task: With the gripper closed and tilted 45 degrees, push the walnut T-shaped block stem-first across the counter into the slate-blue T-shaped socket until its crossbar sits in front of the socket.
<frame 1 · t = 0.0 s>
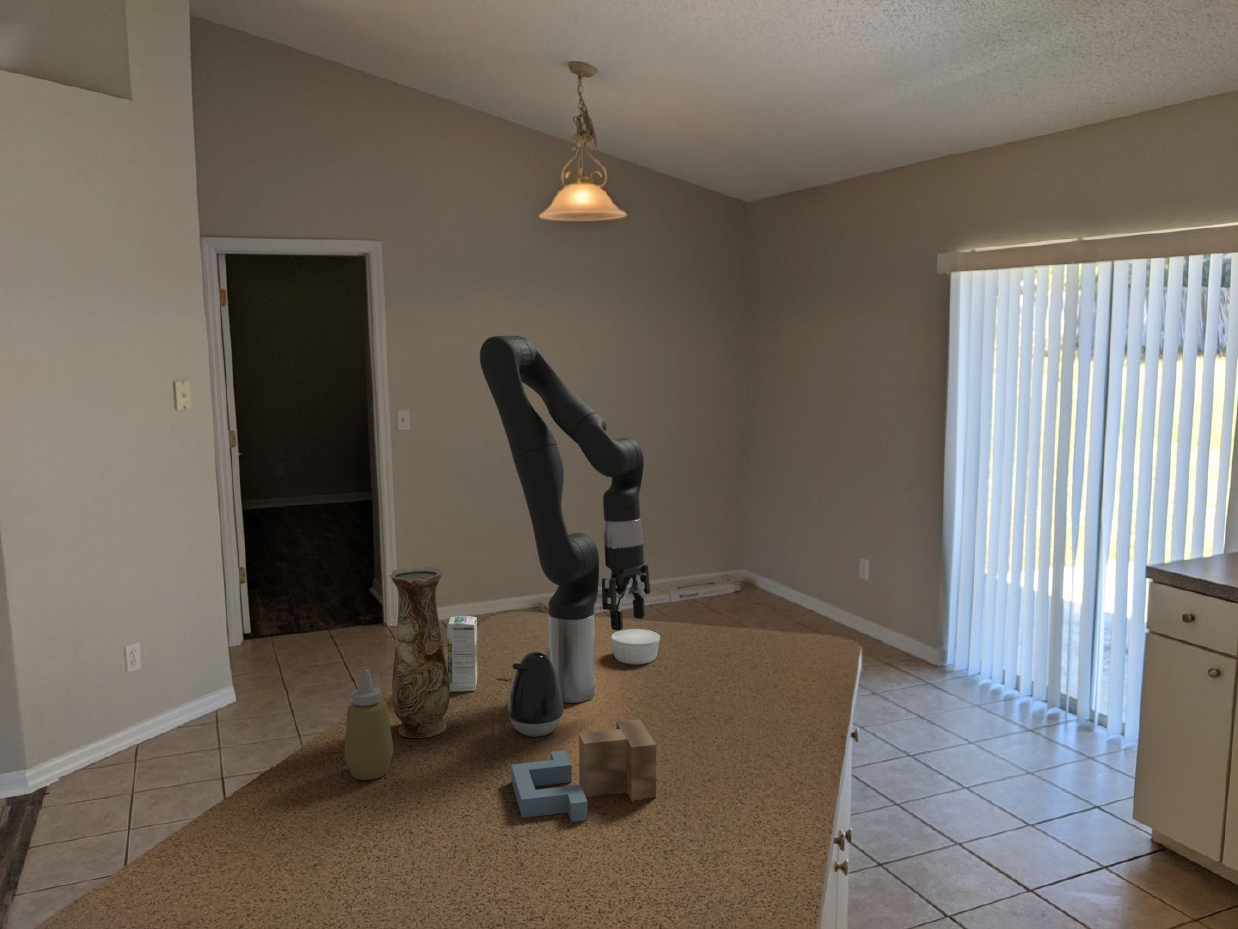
hand: (628, 623, 181), 17 cm above the countertop, tool pointing down, fingers open, 8 cm apart
syrup box: (463, 687, 195), on the countertop
t socket: (577, 792, 150), on the countertop
vase: (421, 729, 174), on the countertop
squeeze bottle: (369, 774, 156), on the countertop
roly-poly penguin toy: (535, 732, 173), on the countertop
t block: (622, 786, 152), on the countertop
ramekin: (635, 659, 212), on the countertop
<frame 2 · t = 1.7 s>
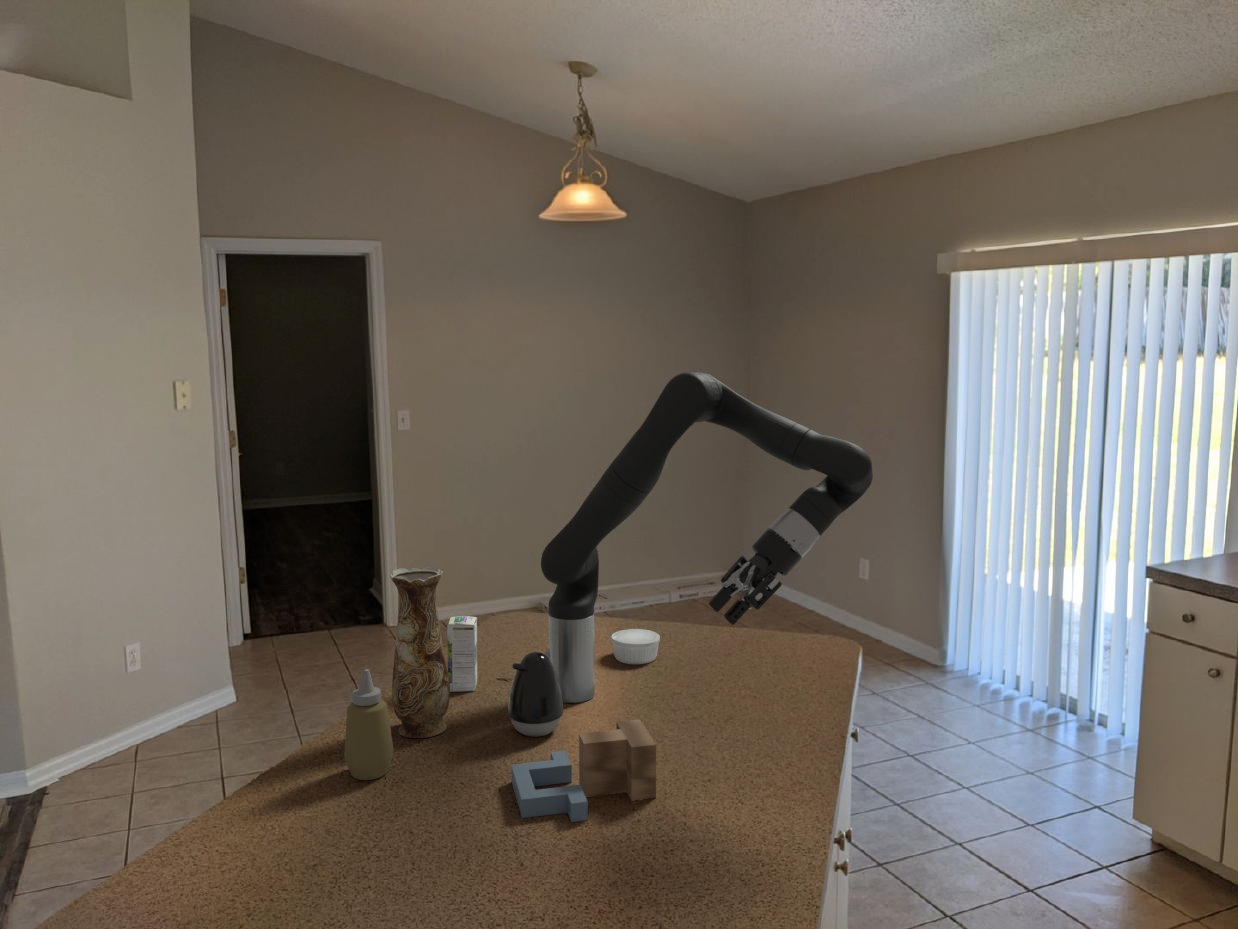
hand: (720, 614, 156), 27 cm above the countertop, tool tilted 45°, fingers open, 7 cm apart
nothing on the countertop moved.
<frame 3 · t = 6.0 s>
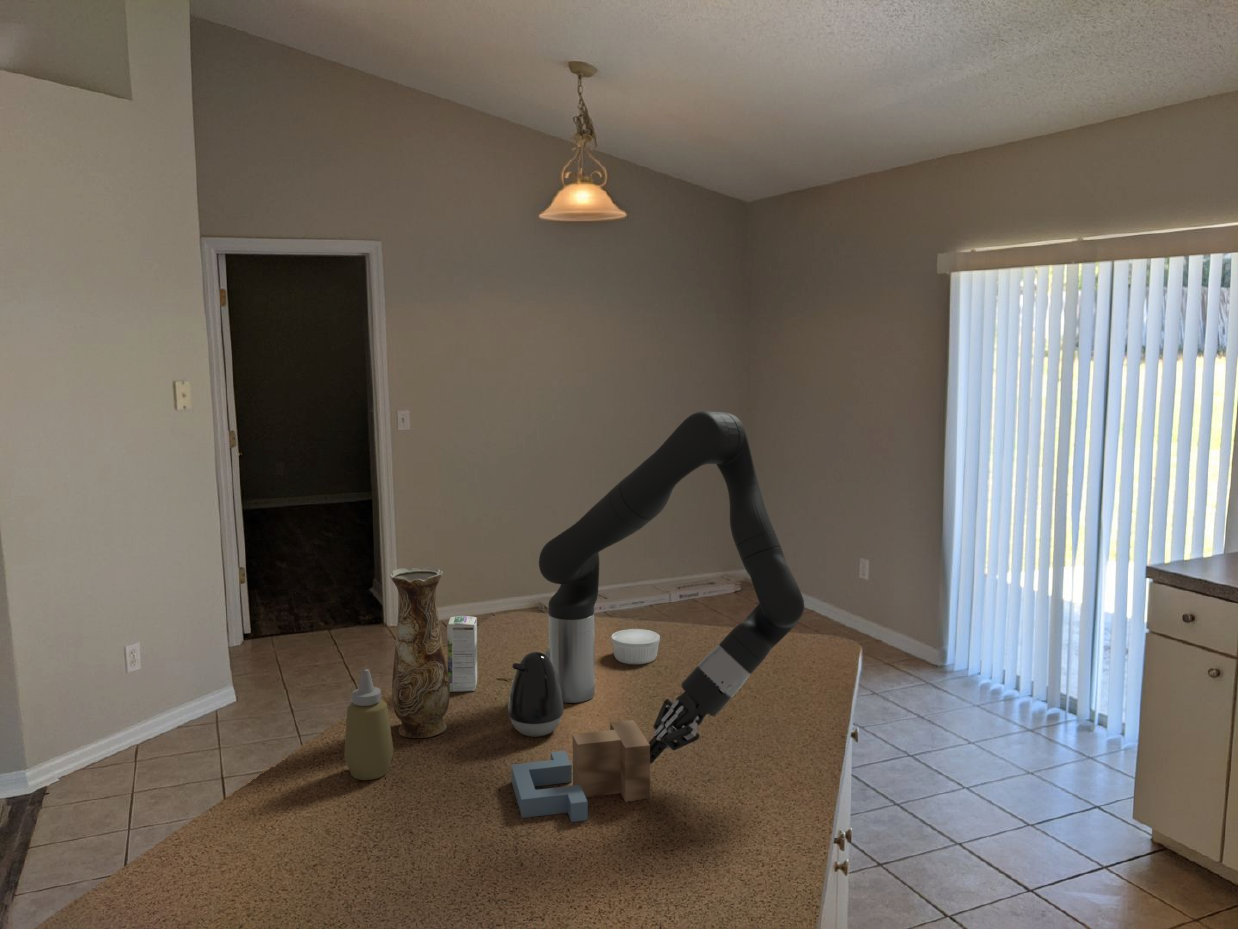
hand: (644, 759, 152), 4 cm above the countertop, tool tilted 45°, fingers closed
t block: (616, 787, 151), on the countertop
everything else where it was.
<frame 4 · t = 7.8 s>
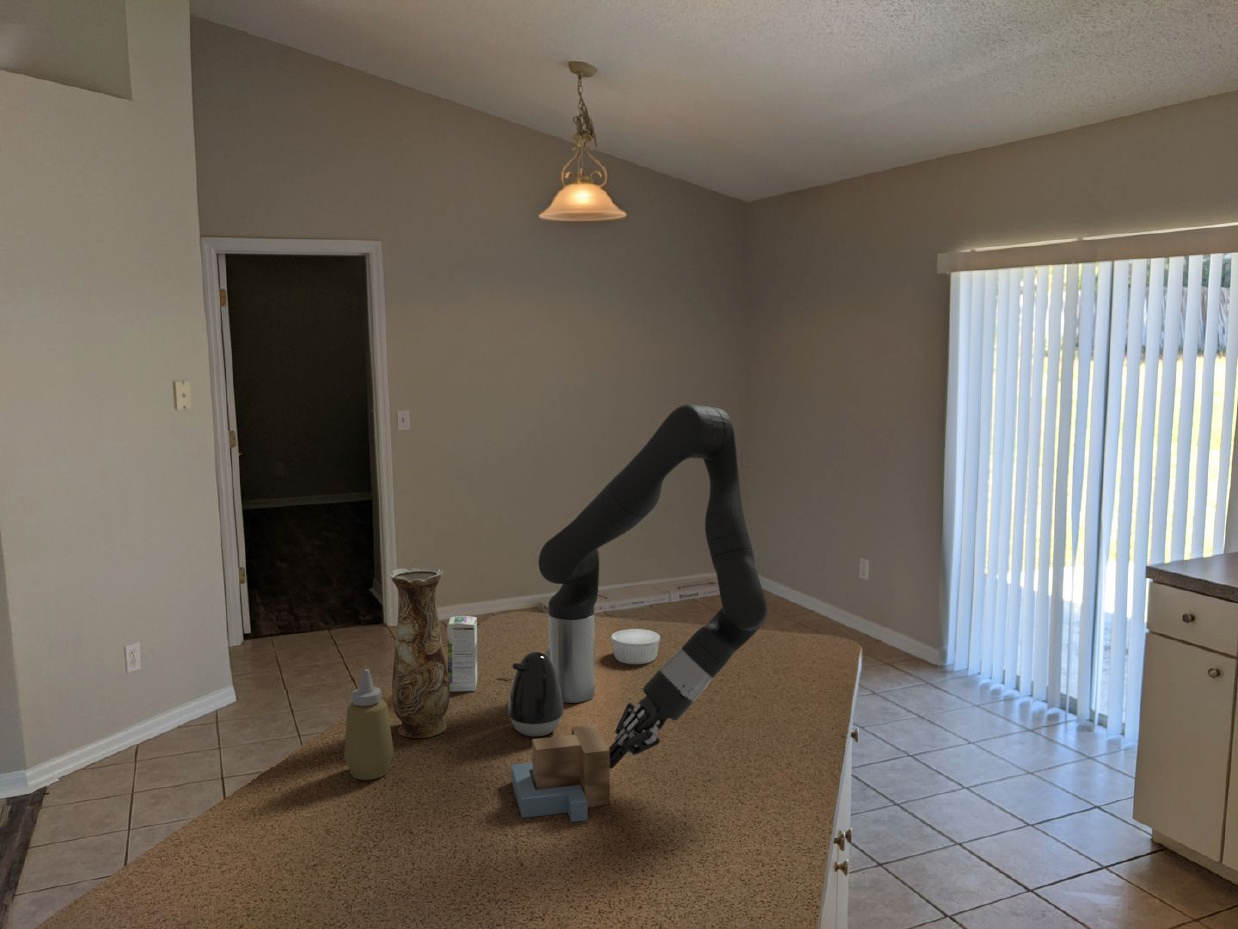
hand: (605, 764, 150), 4 cm above the countertop, tool tilted 45°, fingers closed
t block: (576, 793, 149), on the countertop, touching gripper
everything else where it was.
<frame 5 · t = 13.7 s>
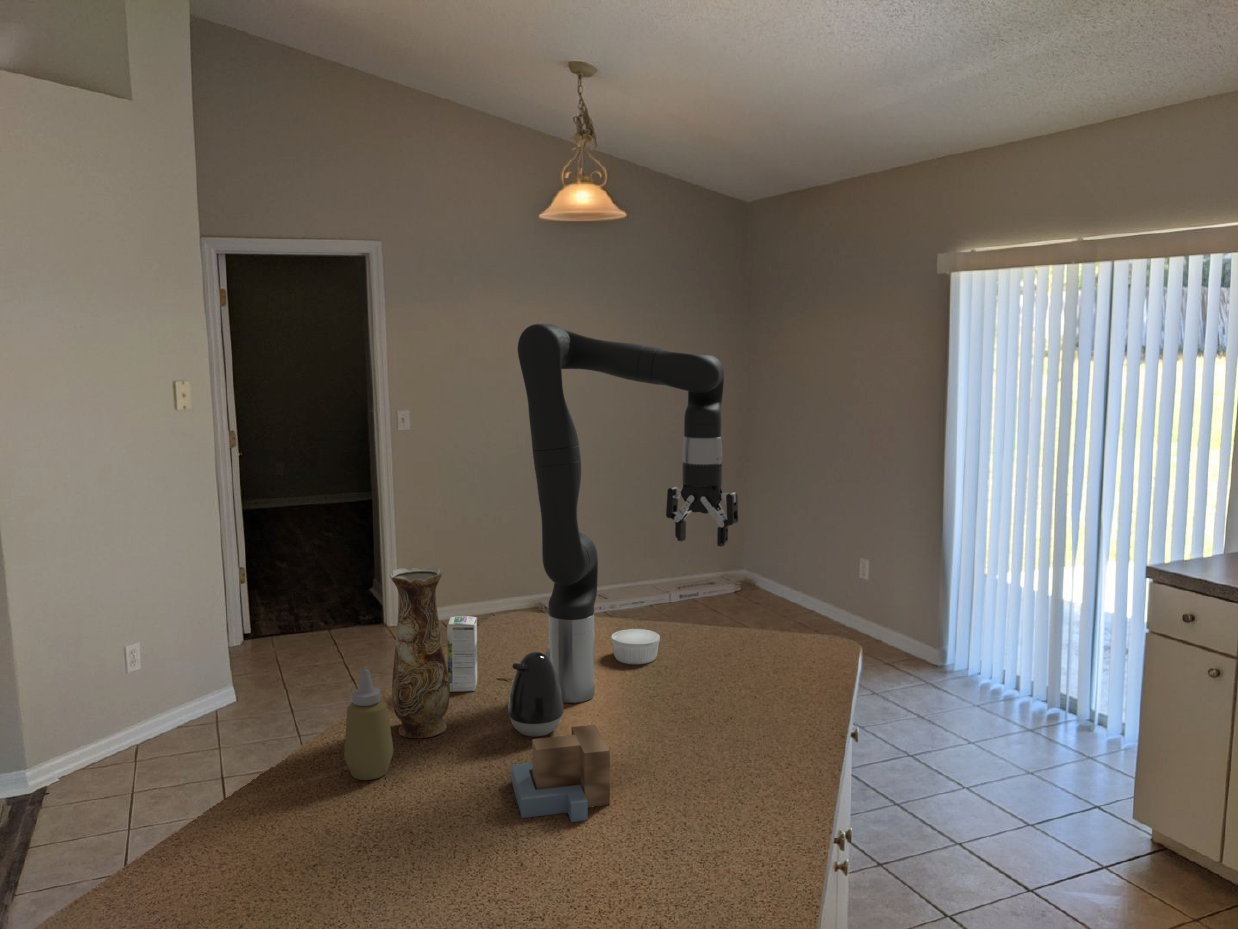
hand: (701, 543, 180), 33 cm above the countertop, tool pointing down, fingers open, 8 cm apart
t block: (576, 793, 149), on the countertop
everything else where it was.
at the end: t block 0.3 cm from the t socket (horizontally); t block tilted 0° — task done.
